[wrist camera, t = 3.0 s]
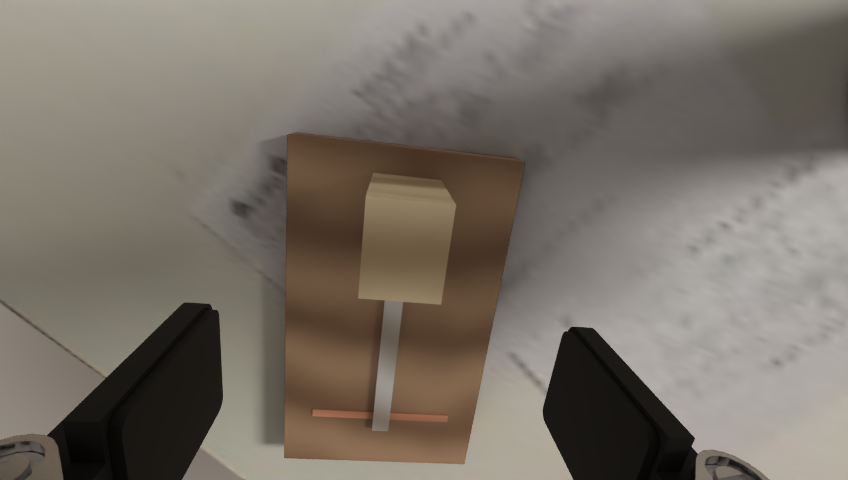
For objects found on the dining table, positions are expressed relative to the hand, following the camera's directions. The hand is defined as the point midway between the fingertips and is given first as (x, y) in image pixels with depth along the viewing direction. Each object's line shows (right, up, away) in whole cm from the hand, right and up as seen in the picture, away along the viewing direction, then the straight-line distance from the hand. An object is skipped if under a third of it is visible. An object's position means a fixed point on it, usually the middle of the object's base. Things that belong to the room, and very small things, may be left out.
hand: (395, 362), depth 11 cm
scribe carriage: (-1, +4, +13) cm, 14 cm away
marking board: (-2, -2, +18) cm, 18 cm away
